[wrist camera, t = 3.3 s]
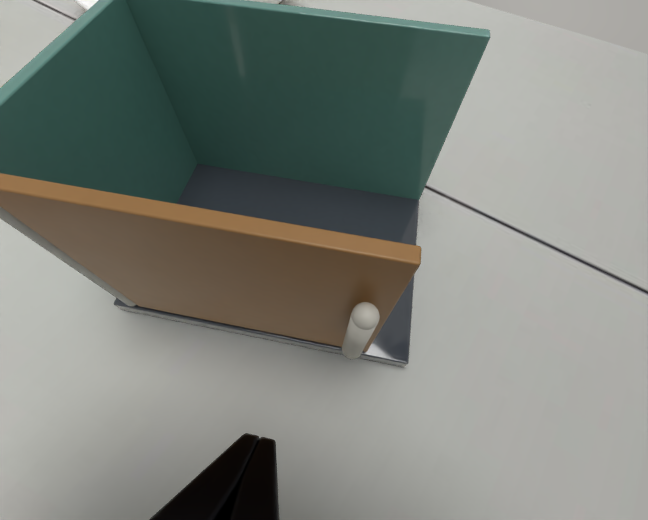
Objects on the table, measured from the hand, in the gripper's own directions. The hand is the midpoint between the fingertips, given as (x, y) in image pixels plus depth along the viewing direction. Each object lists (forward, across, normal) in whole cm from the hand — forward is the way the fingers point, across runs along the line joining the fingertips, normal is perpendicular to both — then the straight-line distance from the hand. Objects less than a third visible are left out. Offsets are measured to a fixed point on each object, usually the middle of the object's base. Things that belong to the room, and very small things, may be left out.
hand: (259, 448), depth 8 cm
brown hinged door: (+9, +4, +2) cm, 10 cm away
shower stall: (+14, +3, -1) cm, 14 cm away
